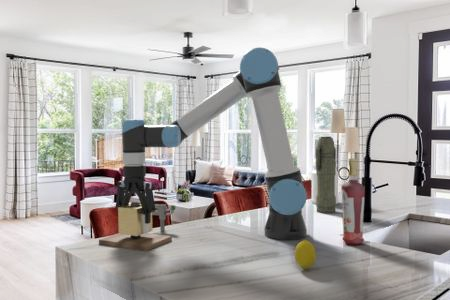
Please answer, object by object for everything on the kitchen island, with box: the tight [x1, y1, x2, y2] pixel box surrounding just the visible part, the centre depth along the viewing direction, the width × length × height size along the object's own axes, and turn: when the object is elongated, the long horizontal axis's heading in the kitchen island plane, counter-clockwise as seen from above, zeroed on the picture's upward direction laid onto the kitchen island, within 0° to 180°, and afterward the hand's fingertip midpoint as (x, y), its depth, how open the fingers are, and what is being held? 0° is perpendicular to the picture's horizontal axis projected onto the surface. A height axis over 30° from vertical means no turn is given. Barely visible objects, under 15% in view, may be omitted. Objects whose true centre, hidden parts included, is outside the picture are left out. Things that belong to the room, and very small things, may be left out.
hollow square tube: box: [117, 203, 153, 236], centre depth 139 cm, size 8×8×9 cm
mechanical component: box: [152, 203, 177, 232], centre depth 156 cm, size 3×10×10 cm, turn 78°
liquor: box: [341, 158, 366, 246], centre depth 134 cm, size 7×7×28 cm
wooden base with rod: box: [98, 201, 173, 252], centre depth 139 cm, size 20×14×14 cm
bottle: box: [310, 157, 340, 205], centre depth 213 cm, size 14×14×28 cm
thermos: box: [315, 136, 337, 214], centre depth 190 cm, size 9×12×35 cm
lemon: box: [294, 239, 317, 270], centre depth 109 cm, size 6×6×8 cm
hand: (135, 231), depth 139 cm, fingers closed on hollow square tube, 8 cm apart
